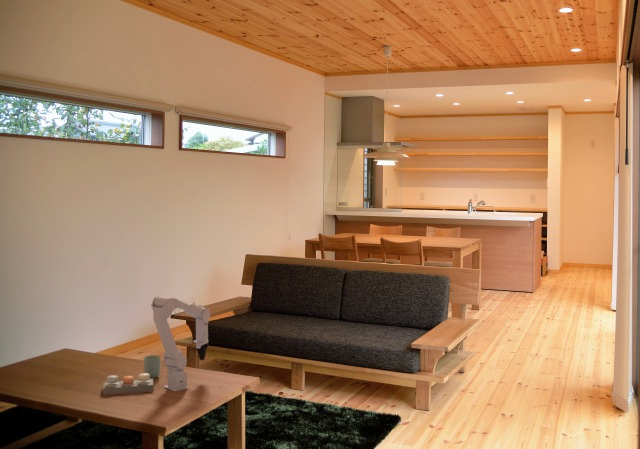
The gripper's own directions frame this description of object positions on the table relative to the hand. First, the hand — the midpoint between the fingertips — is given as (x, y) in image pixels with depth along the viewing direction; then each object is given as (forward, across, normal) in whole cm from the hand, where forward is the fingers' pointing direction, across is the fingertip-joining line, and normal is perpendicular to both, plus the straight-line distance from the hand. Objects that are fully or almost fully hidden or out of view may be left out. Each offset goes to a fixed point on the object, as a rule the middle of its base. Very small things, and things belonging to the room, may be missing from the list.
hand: (202, 359), depth 330 cm
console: (+9, +21, -29) cm, 37 cm away
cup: (+10, 0, -25) cm, 27 cm away
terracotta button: (+6, +21, -29) cm, 36 cm away
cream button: (+5, +18, -22) cm, 29 cm away
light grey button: (+5, +23, -36) cm, 43 cm away
